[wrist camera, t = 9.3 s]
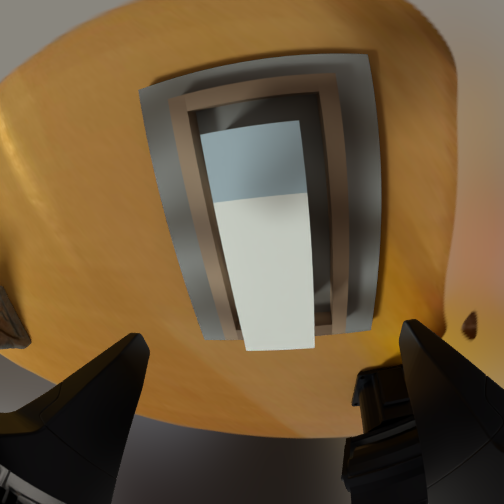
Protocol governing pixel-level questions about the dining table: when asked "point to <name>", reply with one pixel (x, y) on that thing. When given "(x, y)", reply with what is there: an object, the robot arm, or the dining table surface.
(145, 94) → the cradle jig
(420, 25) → the dining table surface
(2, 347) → the worn brown figurine
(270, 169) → the pale grey rectangular block
